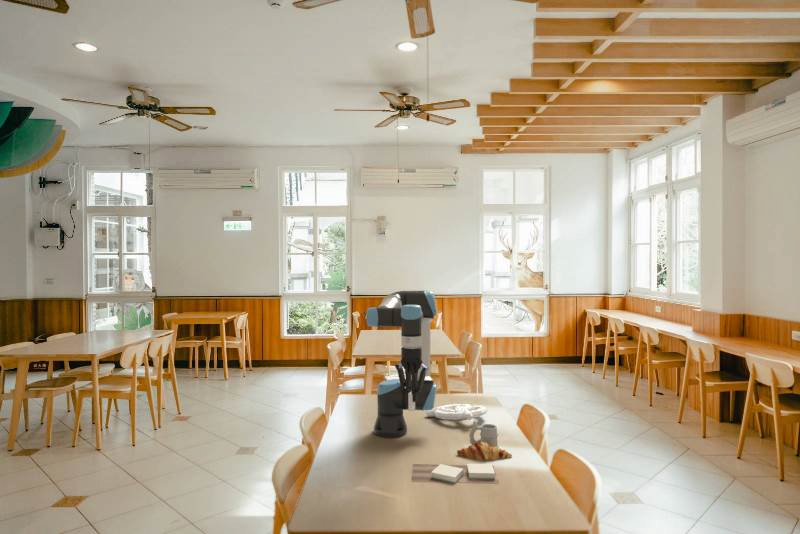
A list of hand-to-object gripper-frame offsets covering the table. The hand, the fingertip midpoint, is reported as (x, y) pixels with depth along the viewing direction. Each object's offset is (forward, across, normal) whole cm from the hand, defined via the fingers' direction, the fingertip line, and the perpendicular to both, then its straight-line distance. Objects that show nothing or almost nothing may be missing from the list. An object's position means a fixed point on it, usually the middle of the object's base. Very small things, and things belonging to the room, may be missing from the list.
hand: (411, 409), depth 183 cm
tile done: (+21, +25, +5) cm, 33 cm away
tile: (+20, +10, -2) cm, 23 cm away
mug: (+23, +18, +30) cm, 42 cm away
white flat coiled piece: (+24, -6, +65) cm, 69 cm away
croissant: (+23, +21, +21) cm, 38 cm away
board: (+22, +16, +1) cm, 27 cm away
